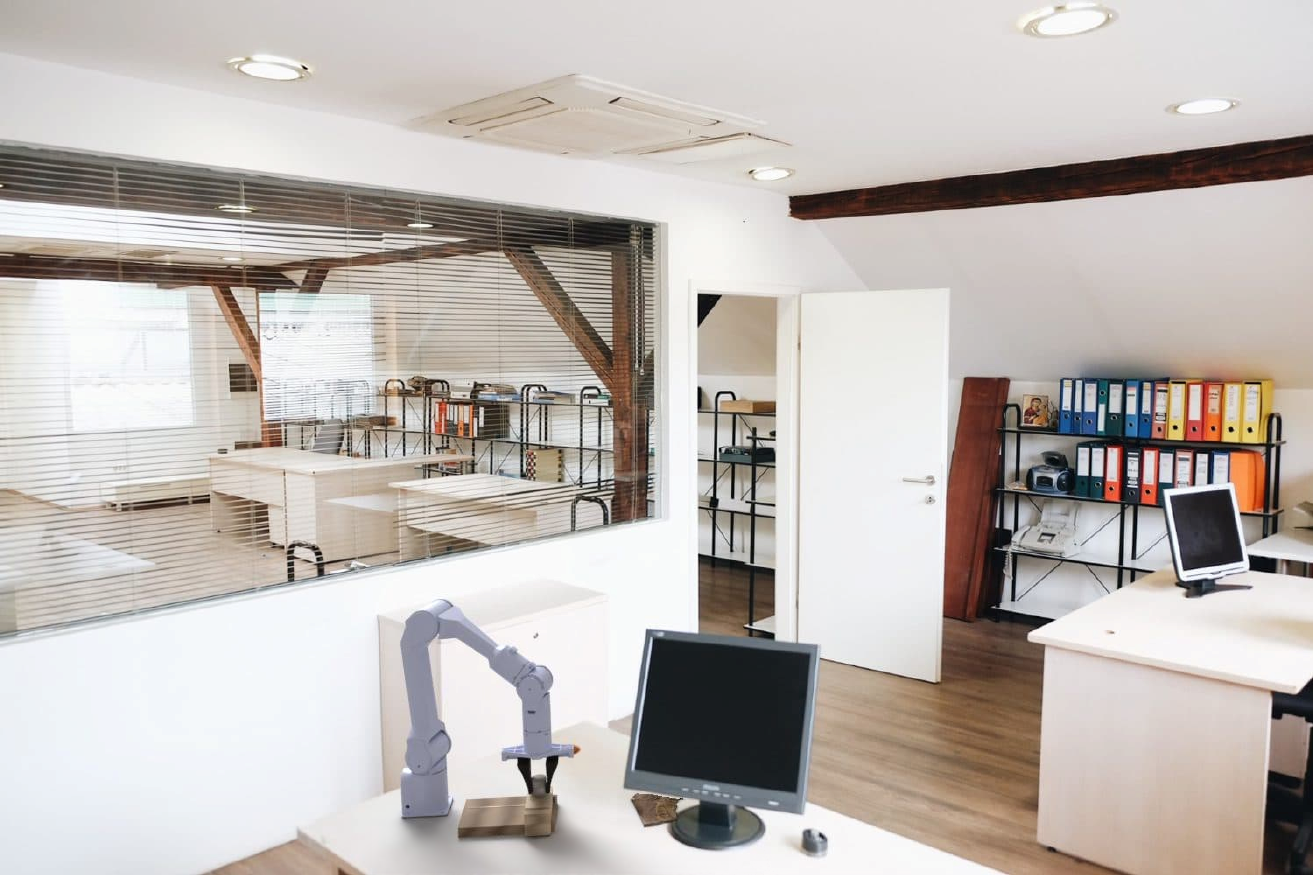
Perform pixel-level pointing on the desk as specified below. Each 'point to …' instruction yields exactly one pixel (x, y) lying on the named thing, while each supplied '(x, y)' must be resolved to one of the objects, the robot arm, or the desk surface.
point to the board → (496, 817)
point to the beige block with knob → (538, 808)
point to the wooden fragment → (655, 808)
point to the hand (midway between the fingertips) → (539, 791)
